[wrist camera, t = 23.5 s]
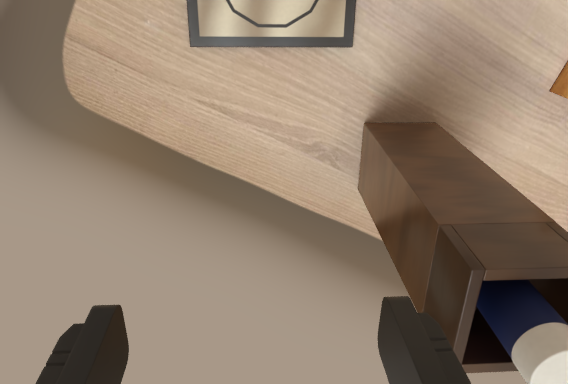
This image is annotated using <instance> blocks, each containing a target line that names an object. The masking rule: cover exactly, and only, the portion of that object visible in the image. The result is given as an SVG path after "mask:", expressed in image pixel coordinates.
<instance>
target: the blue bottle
mask: <svg viewBox="0 0 568 384" xmlns="http://www.w3.org/2000/svg"><path fill="white" fill-rule="evenodd" d="M476 306H477V308H478V309H479V311H480V312H481V314H482V315H483V317H484V318H485V320H486V321H487V323H488V324H489V326H490V327H491V329H492V330H493V332H494V333H495V335H496V336H497V338H498V339H499V341H500V342H501V344H502V345H503V347H504V348H505V350H506V351H507V353H508V354H509V356H510V357H511V359H512V361H513V363H514V365H515V366H516V368H517V369H518V371H519V372H520V374H521V375H522V377H523V378H524V380H525V381H526V383H527V384H568V324H567V323H566V322H565V321H564V319H563V318H562V317H561V316H560V315H559V314H558V313H557V312H556V310H555V309H554V308H553V307H552V306H551V305H550V304H549V303H548V302H547V300H546V299H545V298H544V297H543V296H542V295H541V294H540V293H539V291H538V290H537V289H536V288H535V287H534V286H533V285H532V284H531V282H530V281H529V280H528V279H526V280H493V281H482V285H481V289H480V293H479V297H478V301H477V305H476Z"/></svg>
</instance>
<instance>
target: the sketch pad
mask: <svg viewBox="0 0 568 384" xmlns="http://www.w3.org/2000/svg"><path fill="white" fill-rule="evenodd" d="M355 6H356V0H187V10H188V24H189V37H190V47H352V46H353V33H354V20H355Z"/></svg>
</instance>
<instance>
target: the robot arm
mask: <svg viewBox="0 0 568 384" xmlns="http://www.w3.org/2000/svg"><path fill="white" fill-rule="evenodd" d="M378 348H379V353H380V357H381V360H382V363H383V366H384V368H385V371H386V375H387V377H388V381H389V384H471V383H470V380H469V379H468V377H467V375H466V373H465V371H464V369H463V367H462V365H461V363H460V362H459V360H458V358H457V356H456V354H455V352H454V351H453V350H452V349H453V348H452V347H451V345H450V343H449V341H448V340H447V337H446V335H445V333H444V331H443V330H442V328H441V326H440V324H439V323H438V322H437V321H436V320H435V319H433V318H432V317H431V316H430V315H429V314H428V313H417V312H416V310H415V308H414V306H413V303H412V301H411V299H410V298H409V297H408V296H404V297H403V296H401V297H384V298H383V301H382V308H381V315H380V322H379V329H378ZM52 352H53V353H52V354H51V355H50V357H49V359H48V361H47V363H46V367H44V369H43V370H42V372H41V374H40V376H39V378H38V380H37V382H36V384H121V381H122V378H123V374H124V371H125V368H126V365H127V361H128V352H129V345H128V338H127V333H126V328H125V322H124V317H123V311H122V308H121V306H120V305H98V306H93V307H92V309H91V310H90V313H89V315H88V317H87V319H86V321H85V323H84V324H73V325H72V326H71V327H70V328H69V329H68V330H67V331H66V332H65V333H64V334H63V335H62V336H61V337H60V338H59V340H58V342H57V344H56V346H55V348H54V349H53V351H52Z"/></svg>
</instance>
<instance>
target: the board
mask: <svg viewBox="0 0 568 384" xmlns="http://www.w3.org/2000/svg"><path fill="white" fill-rule="evenodd" d="M550 92H553V93H555V94H558V95H560V96H563V97H565V98H567V99H568V62H567V63H566V65H565V66H564V68H563V70H562V71H561V73H560V75H559V76H558V78H557V79H556V81H555V83H554V84H553V86H552V88H551V89H550Z"/></svg>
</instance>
